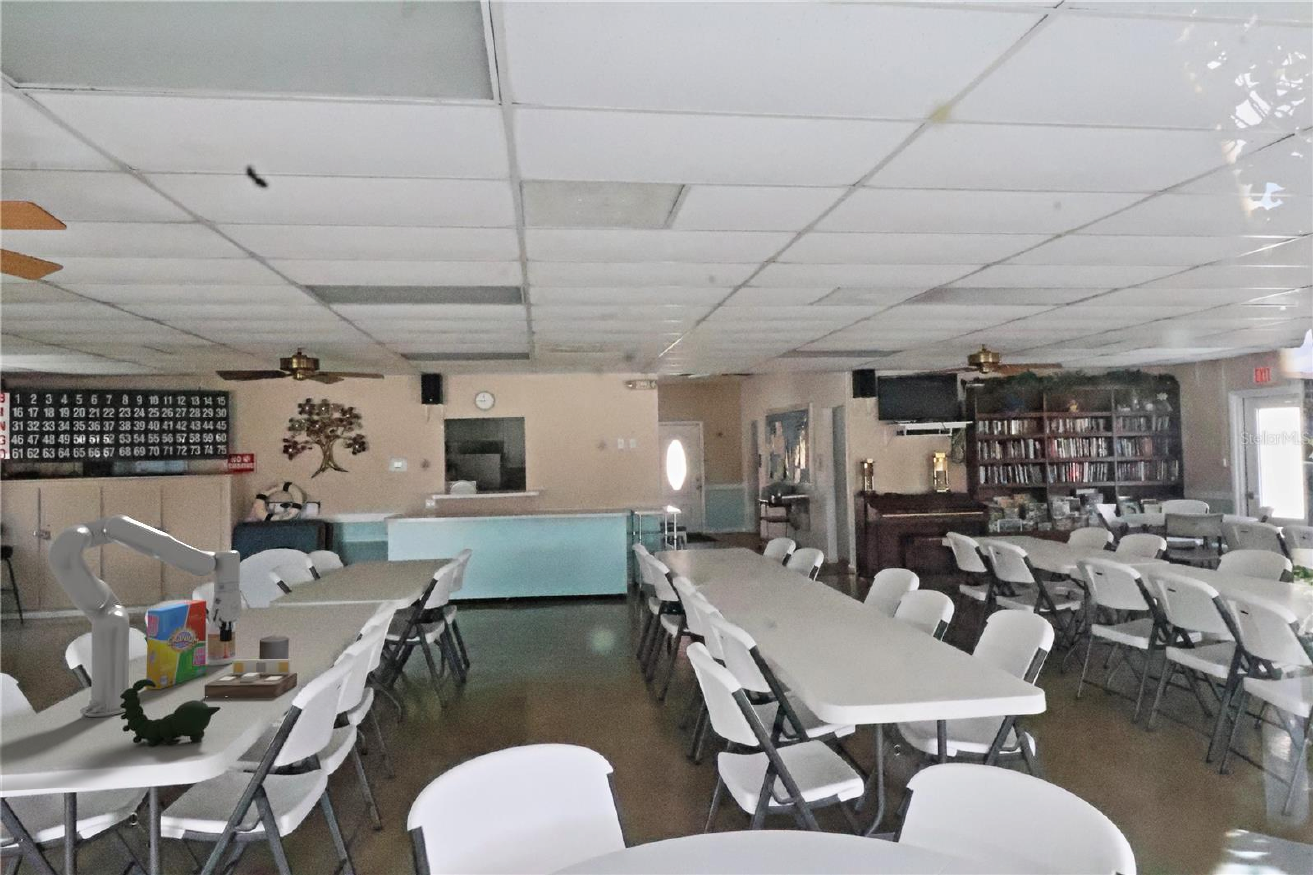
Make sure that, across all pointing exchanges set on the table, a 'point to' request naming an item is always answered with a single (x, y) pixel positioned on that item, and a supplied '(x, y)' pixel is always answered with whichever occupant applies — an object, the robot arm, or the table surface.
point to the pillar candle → (274, 647)
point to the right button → (273, 678)
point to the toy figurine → (180, 723)
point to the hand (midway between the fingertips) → (225, 641)
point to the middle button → (250, 677)
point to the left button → (227, 679)
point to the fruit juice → (219, 645)
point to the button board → (251, 686)
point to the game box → (176, 643)
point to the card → (261, 666)
